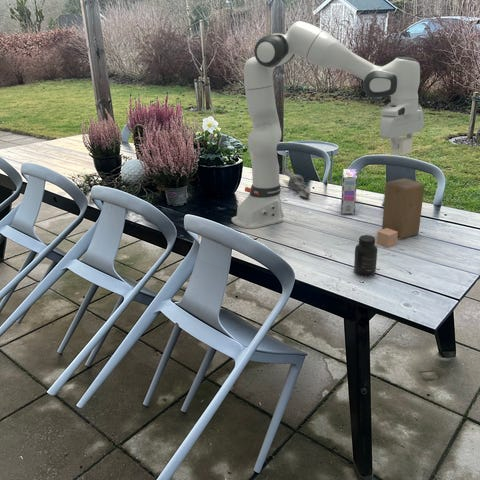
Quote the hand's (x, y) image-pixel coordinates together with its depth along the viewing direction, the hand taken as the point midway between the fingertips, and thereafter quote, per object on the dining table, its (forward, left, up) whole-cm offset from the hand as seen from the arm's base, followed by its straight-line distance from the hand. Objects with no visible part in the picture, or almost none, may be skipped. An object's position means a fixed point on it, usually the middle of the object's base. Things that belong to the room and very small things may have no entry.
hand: (401, 147), depth 166 cm
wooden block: (+1, -2, -33) cm, 33 cm away
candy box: (+7, +29, -33) cm, 44 cm away
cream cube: (0, 0, -2) cm, 2 cm away
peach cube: (-11, -5, -33) cm, 35 cm away
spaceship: (+10, +65, -33) cm, 73 cm away
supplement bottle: (-34, -14, -33) cm, 49 cm away
